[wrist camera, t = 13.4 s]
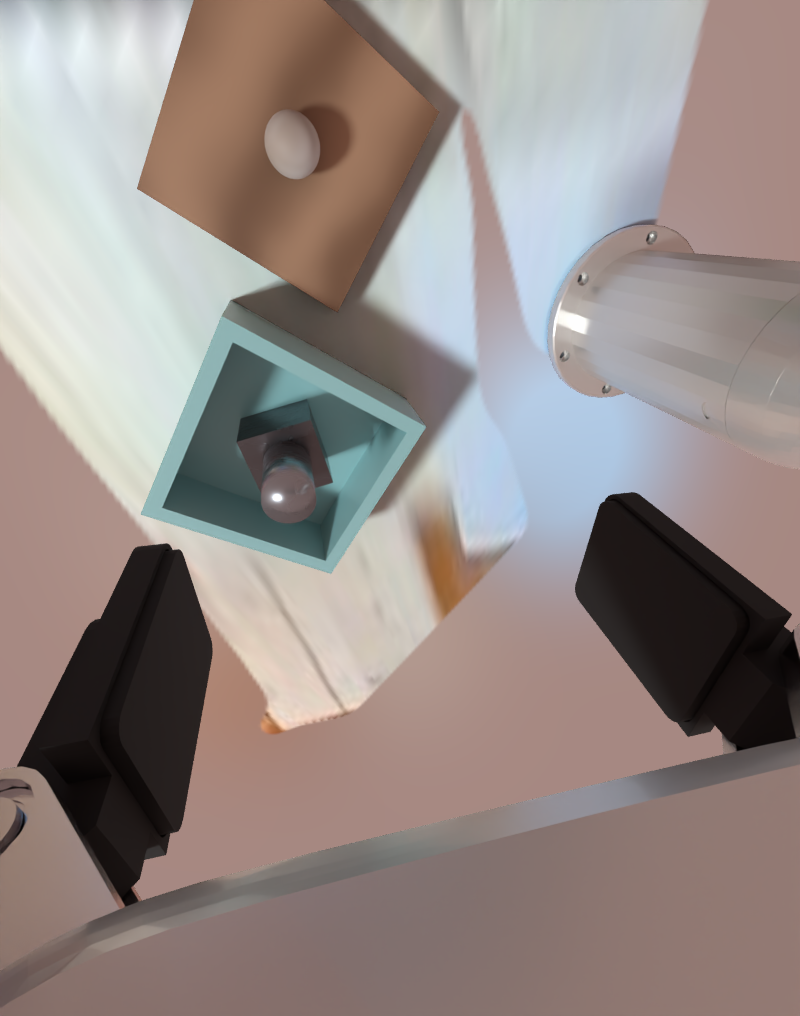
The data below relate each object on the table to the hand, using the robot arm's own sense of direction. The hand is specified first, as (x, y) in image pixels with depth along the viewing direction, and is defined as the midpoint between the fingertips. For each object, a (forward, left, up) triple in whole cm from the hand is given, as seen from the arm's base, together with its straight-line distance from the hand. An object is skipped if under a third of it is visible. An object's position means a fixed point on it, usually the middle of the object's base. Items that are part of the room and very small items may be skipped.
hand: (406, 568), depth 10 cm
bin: (-1, +8, -26) cm, 27 cm away
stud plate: (+6, -8, -26) cm, 28 cm away
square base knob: (-1, +8, -25) cm, 26 cm away
